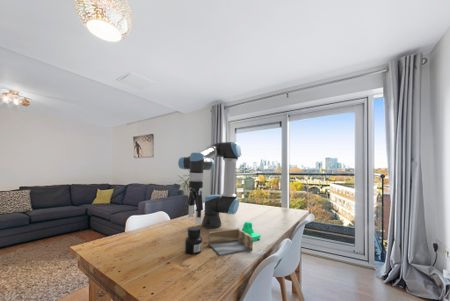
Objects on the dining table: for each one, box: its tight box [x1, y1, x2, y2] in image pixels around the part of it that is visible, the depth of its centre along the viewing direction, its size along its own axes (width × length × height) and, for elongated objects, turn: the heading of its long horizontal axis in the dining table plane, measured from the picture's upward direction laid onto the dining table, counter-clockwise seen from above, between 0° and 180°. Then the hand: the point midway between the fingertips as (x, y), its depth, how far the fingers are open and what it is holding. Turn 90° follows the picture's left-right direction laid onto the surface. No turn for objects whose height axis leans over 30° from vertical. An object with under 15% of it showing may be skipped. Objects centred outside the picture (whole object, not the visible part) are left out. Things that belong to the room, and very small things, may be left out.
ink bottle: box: [184, 226, 203, 255], centre depth 107 cm, size 10×9×12 cm
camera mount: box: [241, 221, 261, 242], centre depth 128 cm, size 12×8×10 cm, turn 130°
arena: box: [208, 228, 254, 257], centre depth 114 cm, size 16×20×7 cm
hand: (194, 220), depth 108 cm, fingers open, 13 cm apart
